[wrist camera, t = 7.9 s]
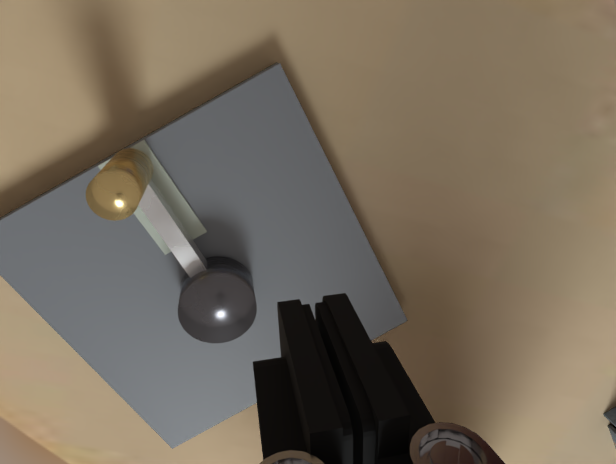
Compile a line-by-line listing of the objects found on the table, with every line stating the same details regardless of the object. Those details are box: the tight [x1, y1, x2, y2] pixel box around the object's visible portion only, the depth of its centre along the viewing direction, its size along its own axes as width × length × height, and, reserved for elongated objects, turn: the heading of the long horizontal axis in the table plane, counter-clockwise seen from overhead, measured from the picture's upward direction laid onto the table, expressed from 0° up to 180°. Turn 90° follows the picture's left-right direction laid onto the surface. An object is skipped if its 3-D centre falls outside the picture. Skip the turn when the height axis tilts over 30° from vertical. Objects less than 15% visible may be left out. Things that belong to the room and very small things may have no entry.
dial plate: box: [0, 63, 408, 448], centre depth 32 cm, size 22×22×2 cm
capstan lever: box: [86, 148, 257, 343], centre depth 27 cm, size 14×5×6 cm, turn 25°
